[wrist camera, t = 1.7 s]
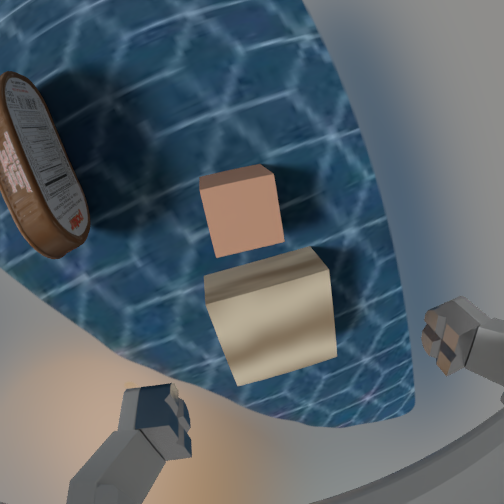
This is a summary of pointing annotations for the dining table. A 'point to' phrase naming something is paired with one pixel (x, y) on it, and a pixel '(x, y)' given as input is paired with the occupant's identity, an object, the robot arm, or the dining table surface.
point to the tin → (38, 172)
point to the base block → (273, 314)
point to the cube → (241, 209)
